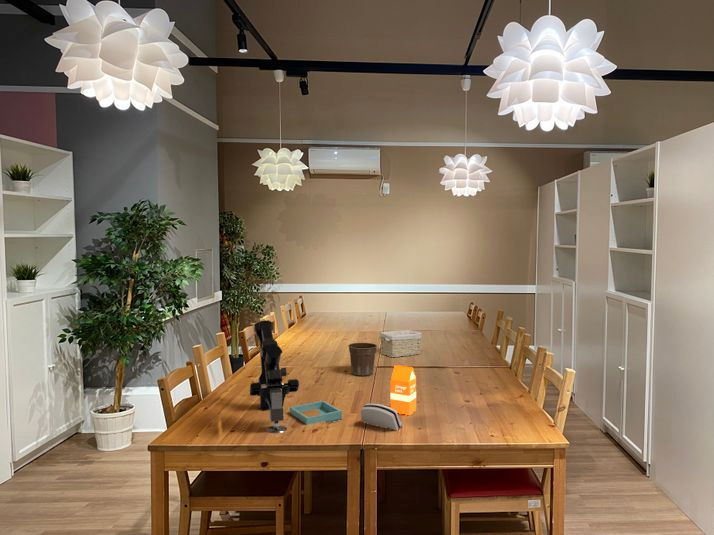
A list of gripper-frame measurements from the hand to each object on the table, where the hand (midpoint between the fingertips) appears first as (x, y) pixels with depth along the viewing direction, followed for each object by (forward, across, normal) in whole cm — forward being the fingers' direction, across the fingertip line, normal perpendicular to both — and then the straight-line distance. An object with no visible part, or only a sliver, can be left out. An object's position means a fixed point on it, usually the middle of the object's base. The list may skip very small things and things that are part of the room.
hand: (276, 407), depth 189 cm
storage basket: (-71, +97, +87) cm, 148 cm away
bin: (-1, +18, +16) cm, 24 cm away
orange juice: (+1, +56, +14) cm, 58 cm away
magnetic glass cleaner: (+10, +41, +5) cm, 42 cm away
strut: (+3, 0, +5) cm, 5 cm away
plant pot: (-44, +58, +60) cm, 95 cm away
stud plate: (+6, 0, +8) cm, 11 cm away
